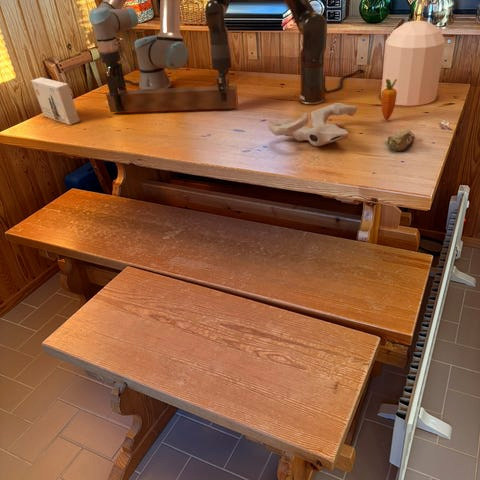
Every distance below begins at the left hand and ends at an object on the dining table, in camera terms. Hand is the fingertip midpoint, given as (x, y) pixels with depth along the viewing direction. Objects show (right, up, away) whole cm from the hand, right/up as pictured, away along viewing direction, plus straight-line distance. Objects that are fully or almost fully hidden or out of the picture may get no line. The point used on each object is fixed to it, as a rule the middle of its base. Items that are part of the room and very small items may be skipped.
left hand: (122, 108), depth 197 cm
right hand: (+44, +1, -9) cm, 45 cm away
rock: (+102, -26, -49) cm, 116 cm away
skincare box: (-26, -5, +1) cm, 27 cm away
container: (+117, +1, -12) cm, 118 cm away
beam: (+22, -1, -3) cm, 22 cm away
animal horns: (+77, -24, -42) cm, 91 cm away
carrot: (+103, -13, -31) cm, 108 cm away
